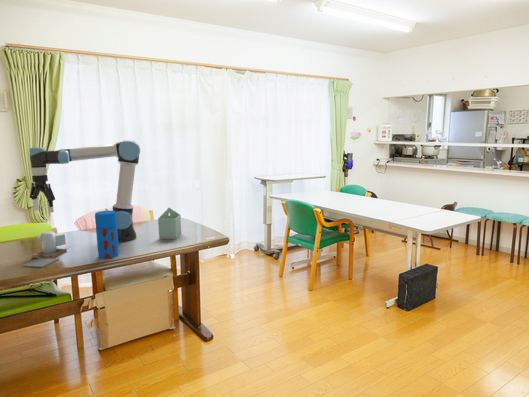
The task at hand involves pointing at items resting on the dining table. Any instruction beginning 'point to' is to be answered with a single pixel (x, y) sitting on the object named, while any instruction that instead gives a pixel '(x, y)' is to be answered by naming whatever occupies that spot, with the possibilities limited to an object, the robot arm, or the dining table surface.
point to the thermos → (106, 234)
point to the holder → (41, 255)
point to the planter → (169, 225)
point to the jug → (51, 242)
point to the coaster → (40, 262)
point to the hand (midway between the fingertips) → (43, 211)
